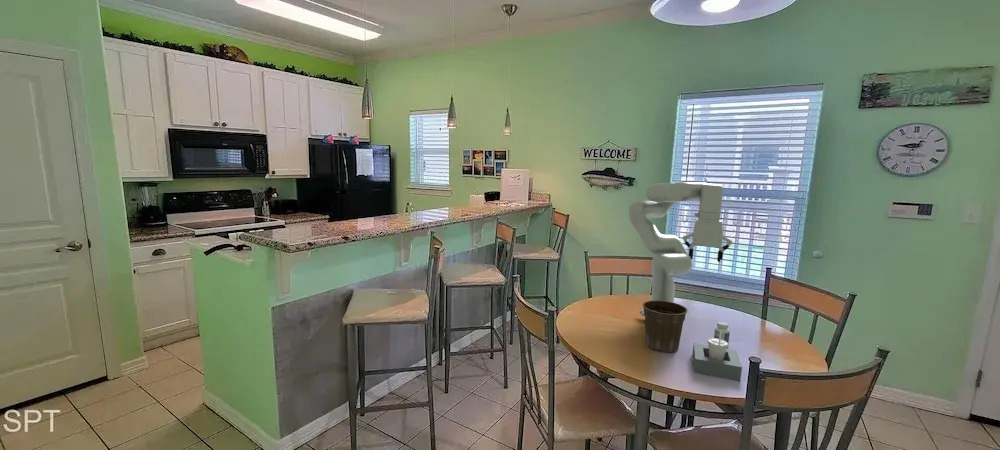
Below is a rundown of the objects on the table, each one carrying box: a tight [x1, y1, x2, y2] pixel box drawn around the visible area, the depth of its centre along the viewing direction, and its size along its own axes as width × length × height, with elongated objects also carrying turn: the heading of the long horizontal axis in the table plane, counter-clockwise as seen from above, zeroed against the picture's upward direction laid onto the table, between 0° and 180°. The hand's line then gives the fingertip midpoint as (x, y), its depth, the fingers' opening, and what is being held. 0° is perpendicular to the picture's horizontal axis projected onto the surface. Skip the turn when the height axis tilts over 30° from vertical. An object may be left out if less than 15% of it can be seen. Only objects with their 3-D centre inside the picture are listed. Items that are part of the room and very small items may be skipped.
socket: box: [691, 342, 743, 382], centre depth 147 cm, size 14×14×5 cm
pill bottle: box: [713, 321, 730, 345], centre depth 166 cm, size 5×5×9 cm
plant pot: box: [642, 300, 688, 353], centre depth 163 cm, size 16×16×16 cm
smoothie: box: [707, 330, 729, 360], centre depth 146 cm, size 6×6×14 cm
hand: (704, 259), depth 162 cm, fingers open, 9 cm apart
